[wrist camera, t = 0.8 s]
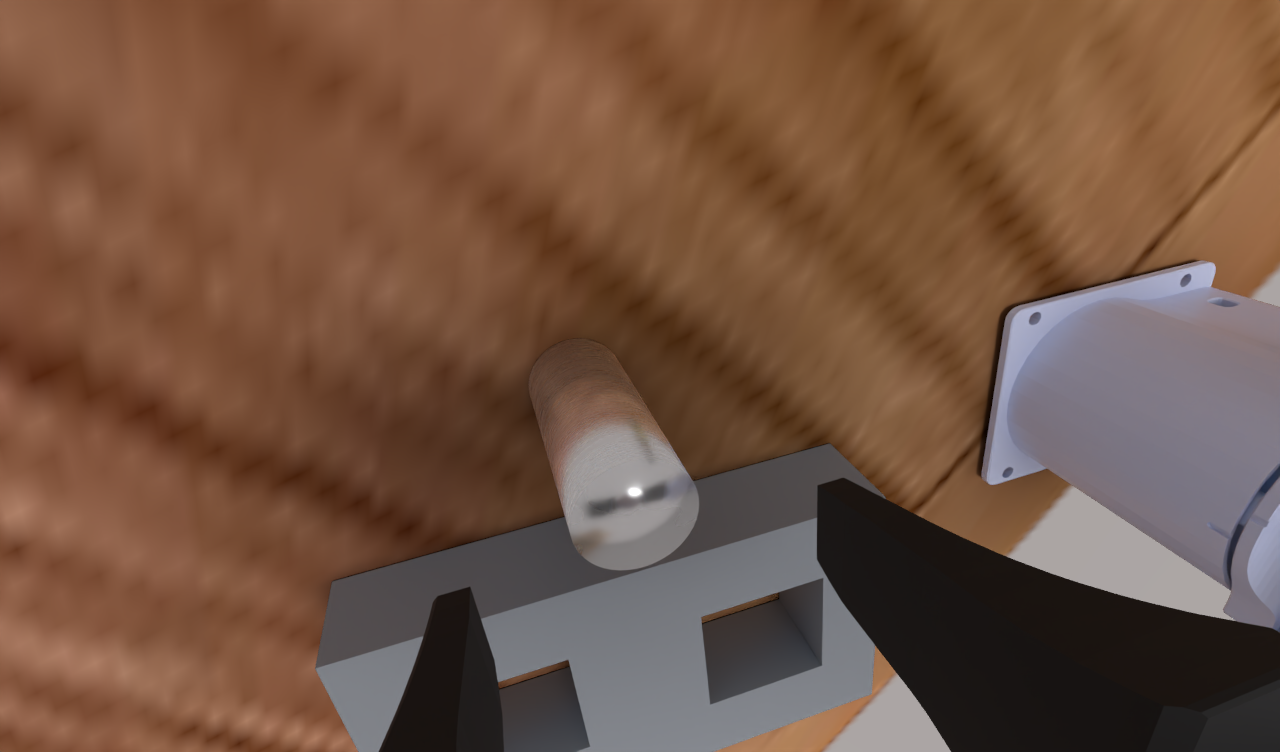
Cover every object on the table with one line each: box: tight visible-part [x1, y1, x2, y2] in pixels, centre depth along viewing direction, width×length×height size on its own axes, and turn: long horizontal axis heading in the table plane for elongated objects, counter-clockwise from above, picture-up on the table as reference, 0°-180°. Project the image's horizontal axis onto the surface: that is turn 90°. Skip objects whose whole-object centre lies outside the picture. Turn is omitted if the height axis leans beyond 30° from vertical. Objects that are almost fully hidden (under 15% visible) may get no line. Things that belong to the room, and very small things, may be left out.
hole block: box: [315, 444, 886, 752], centre depth 24 cm, size 18×10×4 cm, turn 96°
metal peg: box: [529, 338, 699, 570], centre depth 18 cm, size 3×3×7 cm
